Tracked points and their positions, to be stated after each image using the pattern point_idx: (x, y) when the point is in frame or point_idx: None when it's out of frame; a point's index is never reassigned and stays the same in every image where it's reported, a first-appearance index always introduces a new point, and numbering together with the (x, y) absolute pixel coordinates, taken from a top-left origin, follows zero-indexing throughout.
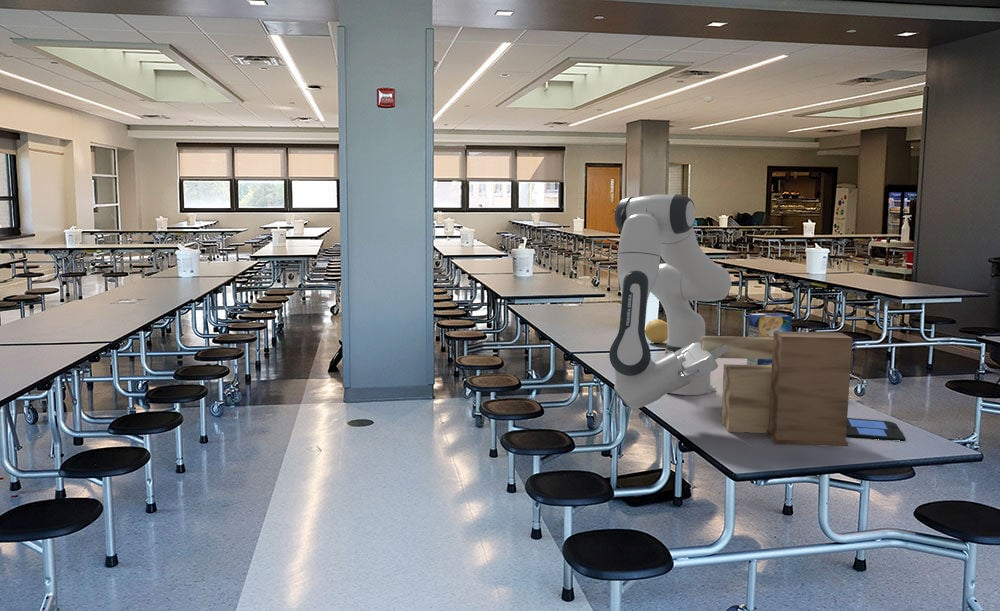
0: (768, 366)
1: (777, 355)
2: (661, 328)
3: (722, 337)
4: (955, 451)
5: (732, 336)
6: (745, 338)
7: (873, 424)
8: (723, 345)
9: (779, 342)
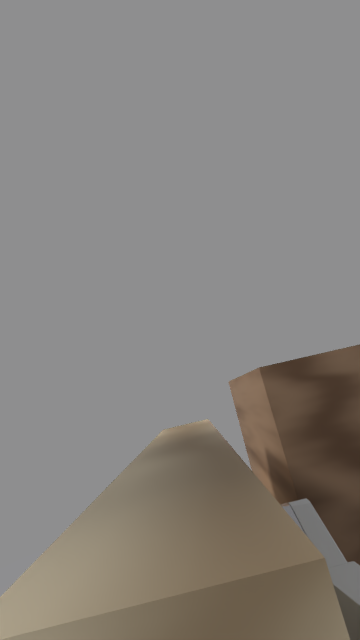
0: None
1: (353, 432)
2: None
3: (179, 470)
4: None
5: (131, 463)
6: (201, 437)
7: None
8: (315, 513)
9: (350, 374)
